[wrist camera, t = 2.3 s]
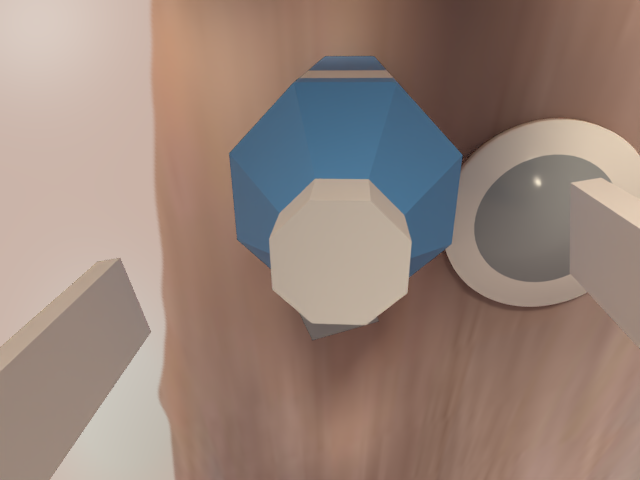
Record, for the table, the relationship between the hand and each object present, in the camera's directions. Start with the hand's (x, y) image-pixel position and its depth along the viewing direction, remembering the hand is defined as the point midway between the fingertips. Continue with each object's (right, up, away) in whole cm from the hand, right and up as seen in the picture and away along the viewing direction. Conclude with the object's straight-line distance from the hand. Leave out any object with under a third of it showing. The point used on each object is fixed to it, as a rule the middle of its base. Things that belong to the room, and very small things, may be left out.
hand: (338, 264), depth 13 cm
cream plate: (+18, +3, +24) cm, 30 cm away
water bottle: (+2, +10, +22) cm, 25 cm away
